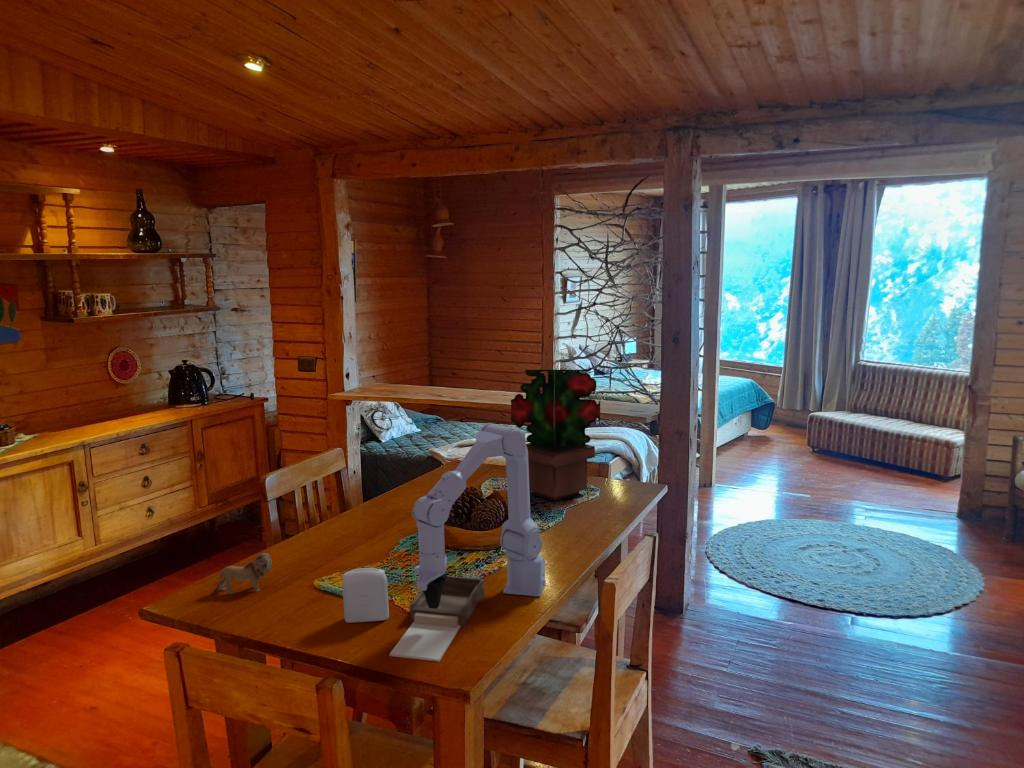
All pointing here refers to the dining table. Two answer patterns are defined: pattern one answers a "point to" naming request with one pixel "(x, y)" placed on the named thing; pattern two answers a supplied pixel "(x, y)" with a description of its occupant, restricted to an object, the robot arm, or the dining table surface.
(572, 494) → the potted plant
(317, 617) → the dining table surface
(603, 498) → the dining table surface
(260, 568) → the lion figurine
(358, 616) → the photo printer
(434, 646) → the cover plate
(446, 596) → the walnut box
